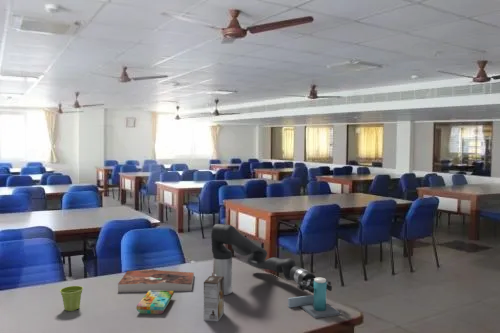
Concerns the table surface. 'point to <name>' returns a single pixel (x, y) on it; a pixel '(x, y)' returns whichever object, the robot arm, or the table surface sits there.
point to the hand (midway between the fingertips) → (322, 289)
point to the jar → (319, 294)
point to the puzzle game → (154, 302)
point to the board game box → (156, 281)
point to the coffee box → (213, 298)
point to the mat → (318, 314)
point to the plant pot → (71, 297)
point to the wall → (300, 301)
